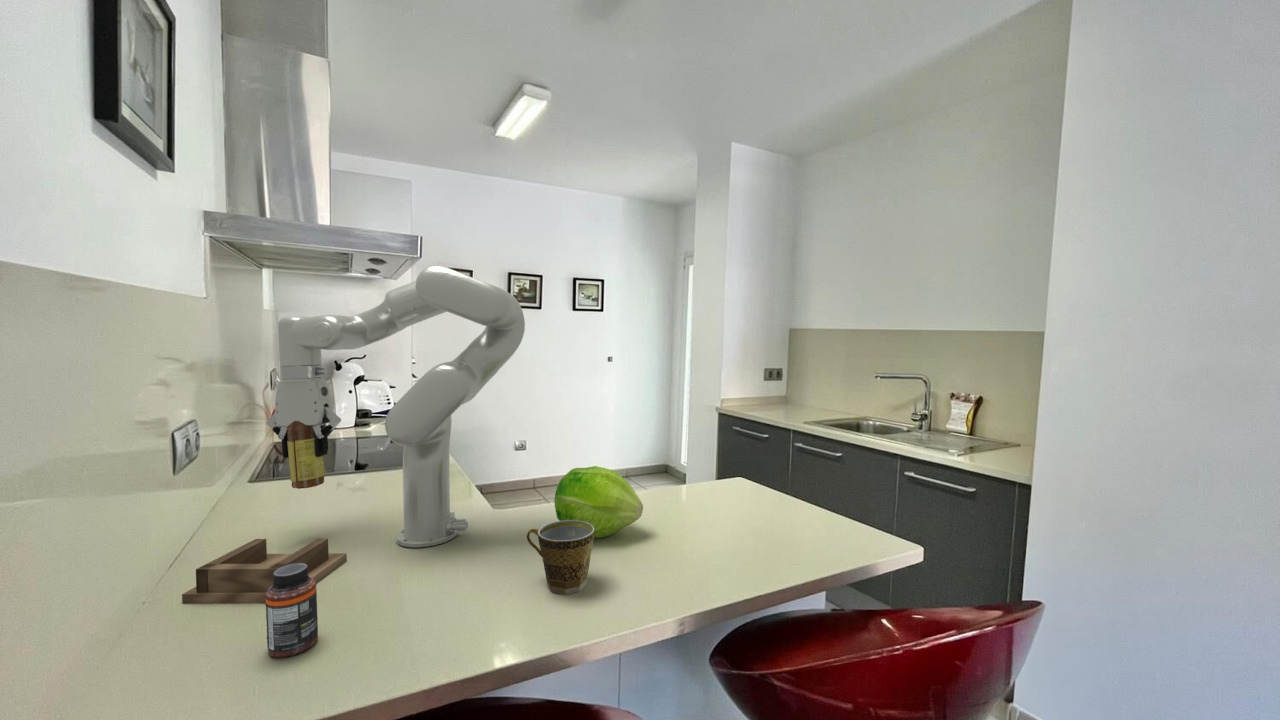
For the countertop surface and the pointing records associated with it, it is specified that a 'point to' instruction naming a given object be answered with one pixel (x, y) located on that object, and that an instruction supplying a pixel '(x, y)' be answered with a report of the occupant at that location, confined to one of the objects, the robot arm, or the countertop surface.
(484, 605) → the countertop surface
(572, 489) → the lettuce
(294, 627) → the supplement bottle
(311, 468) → the sauce bottle
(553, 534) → the ceramic cup
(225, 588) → the bottle stand
